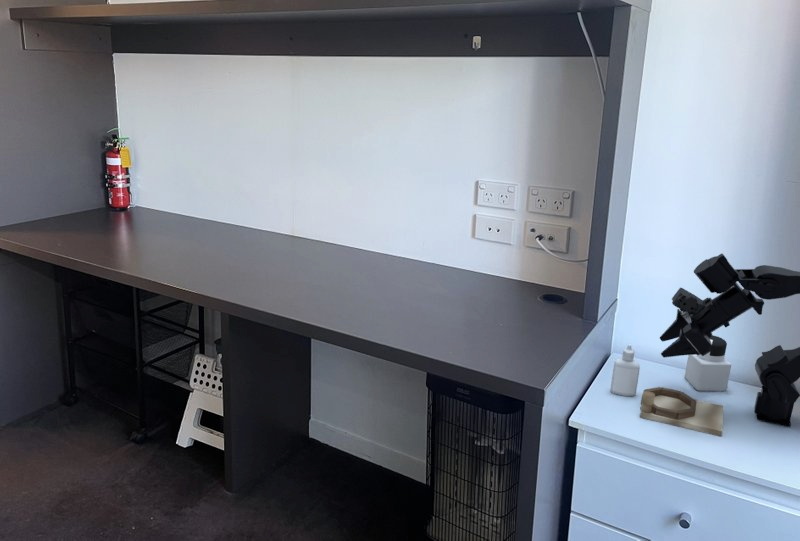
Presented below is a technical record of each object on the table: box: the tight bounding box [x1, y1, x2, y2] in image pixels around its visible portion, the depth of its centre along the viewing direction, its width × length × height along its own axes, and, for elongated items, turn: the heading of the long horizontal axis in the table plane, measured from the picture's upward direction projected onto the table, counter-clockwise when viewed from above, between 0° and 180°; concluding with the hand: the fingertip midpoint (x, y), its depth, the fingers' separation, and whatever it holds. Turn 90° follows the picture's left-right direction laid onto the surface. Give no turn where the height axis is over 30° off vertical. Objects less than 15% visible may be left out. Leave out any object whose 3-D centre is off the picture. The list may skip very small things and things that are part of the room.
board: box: [639, 386, 724, 437], centre depth 145 cm, size 16×12×5 cm
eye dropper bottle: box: [610, 344, 641, 397], centre depth 152 cm, size 4×6×12 cm
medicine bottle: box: [684, 335, 732, 392], centre depth 157 cm, size 7×7×12 cm
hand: (661, 347), depth 148 cm, fingers open, 9 cm apart
